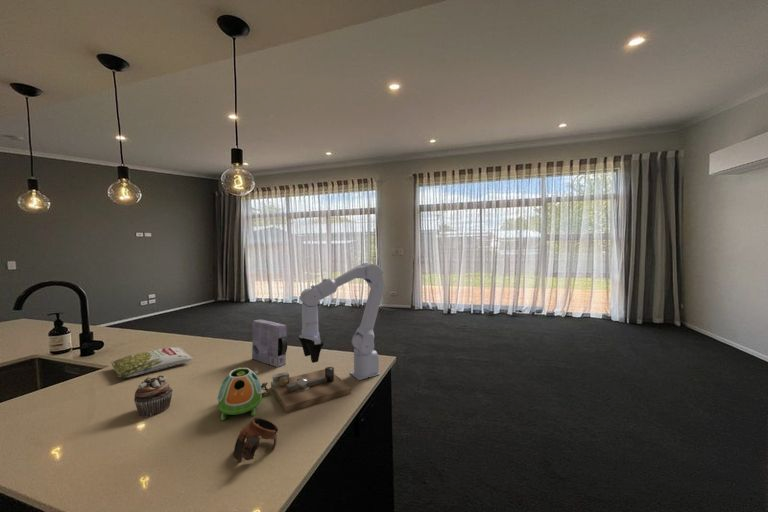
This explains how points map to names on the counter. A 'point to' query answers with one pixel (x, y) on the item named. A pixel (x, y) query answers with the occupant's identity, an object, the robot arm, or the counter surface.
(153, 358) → the frozen beans
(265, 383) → the wooden post with brackets
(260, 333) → the cake pan box
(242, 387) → the turtle holder
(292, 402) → the board
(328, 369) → the lever
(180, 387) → the counter surface
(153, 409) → the cupcake
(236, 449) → the brown curved open piece
